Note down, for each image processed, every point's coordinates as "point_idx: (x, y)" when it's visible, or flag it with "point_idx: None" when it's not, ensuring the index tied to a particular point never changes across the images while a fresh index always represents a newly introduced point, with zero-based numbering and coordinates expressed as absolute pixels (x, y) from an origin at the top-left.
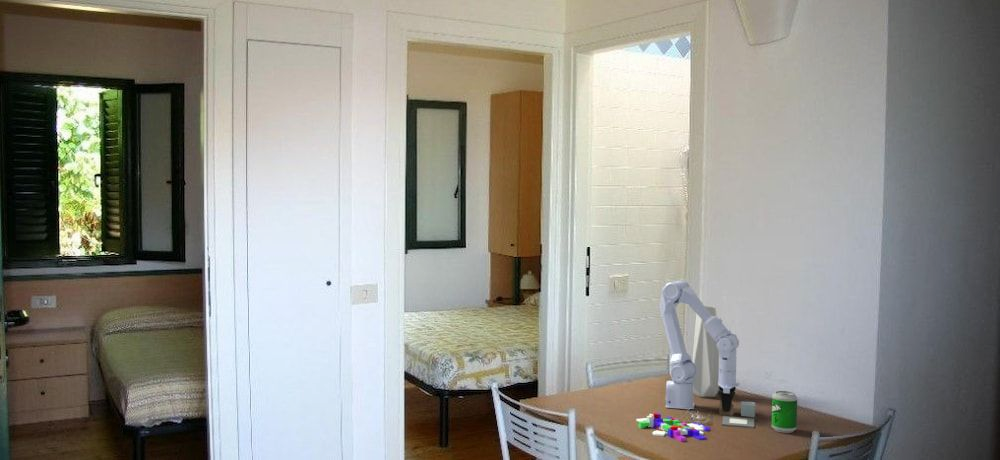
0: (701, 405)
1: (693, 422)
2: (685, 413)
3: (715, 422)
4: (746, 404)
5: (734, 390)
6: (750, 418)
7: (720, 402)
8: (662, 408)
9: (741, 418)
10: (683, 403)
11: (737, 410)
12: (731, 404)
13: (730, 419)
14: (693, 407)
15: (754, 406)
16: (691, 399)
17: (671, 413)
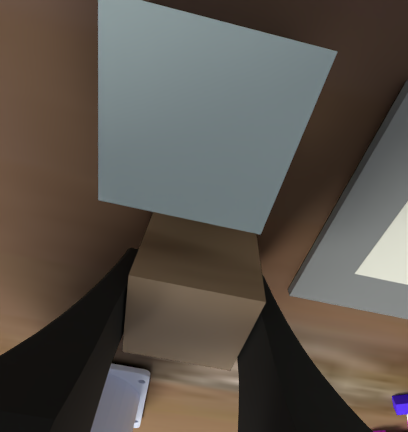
0: (33, 326)
1: (398, 410)
2: (211, 393)
3: (393, 337)
4: (256, 173)
5: (69, 397)
6: (399, 122)
7: (205, 363)
8: (146, 425)
9: (377, 201)
10: (133, 418)
11: (71, 161)
12: (260, 311)
13: (386, 276)
14: (126, 372)
15: (330, 60)
16: (103, 419)
17: (217, 420)
